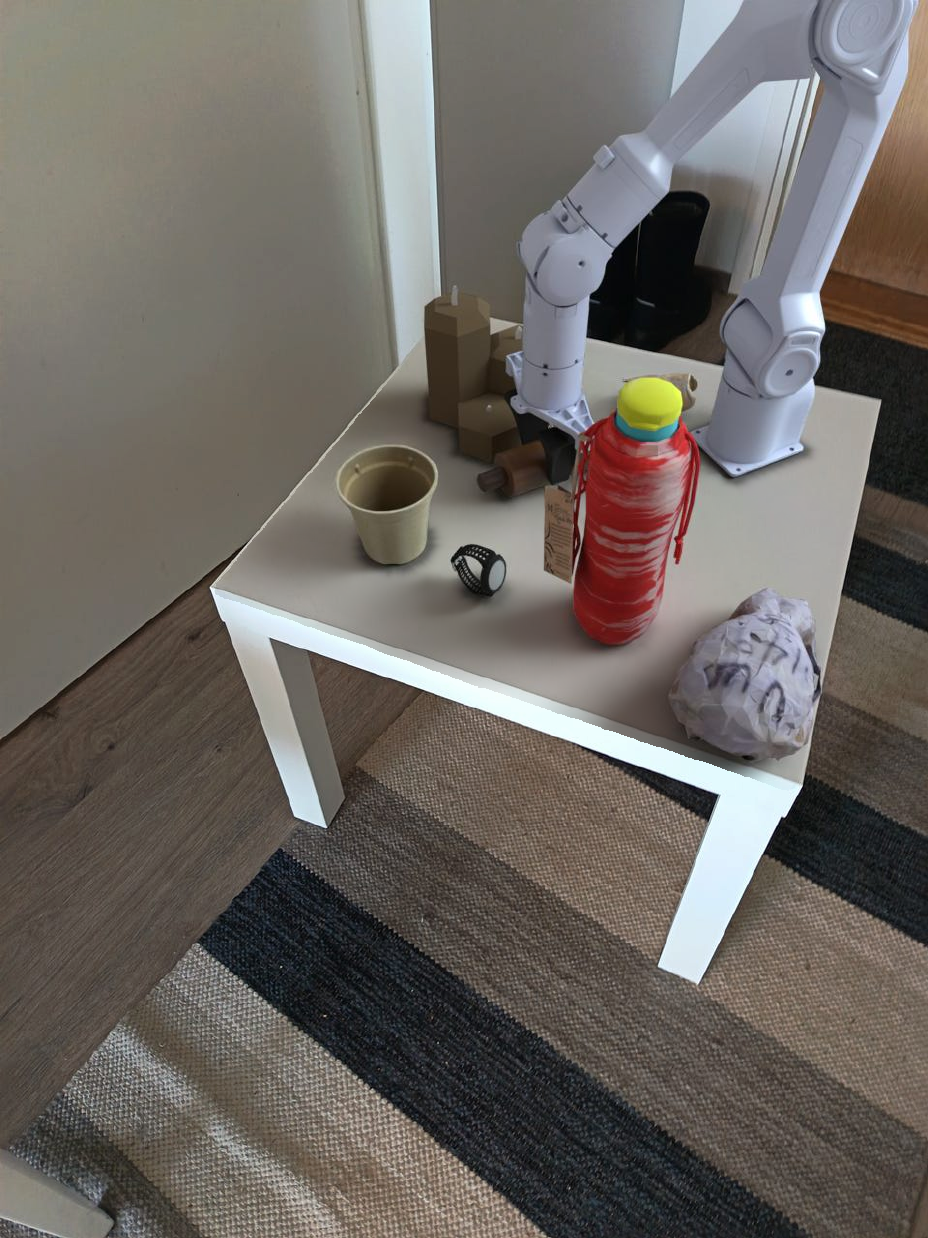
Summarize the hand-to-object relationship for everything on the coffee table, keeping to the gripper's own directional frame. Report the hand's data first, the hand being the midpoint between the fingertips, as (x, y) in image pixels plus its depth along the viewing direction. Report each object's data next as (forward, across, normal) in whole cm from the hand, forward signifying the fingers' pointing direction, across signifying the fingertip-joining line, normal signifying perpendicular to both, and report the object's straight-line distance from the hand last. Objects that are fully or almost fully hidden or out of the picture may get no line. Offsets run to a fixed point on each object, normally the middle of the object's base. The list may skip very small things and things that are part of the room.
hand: (545, 465), depth 89 cm
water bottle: (+2, +19, -6) cm, 20 cm away
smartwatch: (+2, +10, -13) cm, 17 cm away
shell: (+2, -4, +17) cm, 18 cm away
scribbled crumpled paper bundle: (+2, +32, +1) cm, 33 cm away
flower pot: (+2, +2, -18) cm, 18 cm away
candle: (+2, -12, -1) cm, 13 cm away
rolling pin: (-1, 0, 0) cm, 1 cm away
